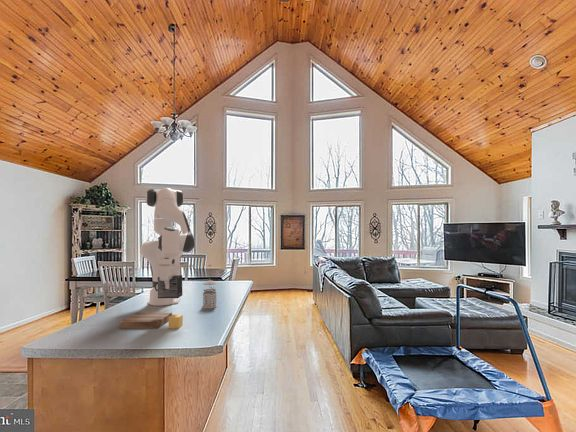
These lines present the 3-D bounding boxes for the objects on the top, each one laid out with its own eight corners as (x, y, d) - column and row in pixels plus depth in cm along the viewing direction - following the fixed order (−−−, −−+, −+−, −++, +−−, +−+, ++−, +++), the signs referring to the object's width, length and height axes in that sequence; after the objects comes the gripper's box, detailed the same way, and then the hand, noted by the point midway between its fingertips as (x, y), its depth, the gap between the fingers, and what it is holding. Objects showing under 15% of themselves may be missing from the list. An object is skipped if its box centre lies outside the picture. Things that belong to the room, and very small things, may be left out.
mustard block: (172, 325, 168) (172, 314, 168) (182, 325, 168) (182, 314, 168) (168, 328, 163) (168, 317, 163) (179, 328, 163) (179, 317, 163)
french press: (214, 304, 216) (214, 263, 217) (222, 307, 206) (222, 264, 207) (198, 306, 210) (198, 264, 211) (206, 309, 201) (206, 265, 202)
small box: (183, 295, 178) (182, 274, 178) (178, 298, 172) (178, 277, 172) (162, 295, 179) (162, 274, 179) (157, 298, 172) (157, 277, 172)
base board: (137, 318, 181) (137, 312, 181) (172, 318, 180) (172, 312, 181) (119, 328, 163) (120, 321, 163) (158, 328, 162) (158, 321, 163)
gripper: (171, 257, 186) (171, 284, 186) (156, 261, 166) (156, 291, 165) (183, 257, 186) (183, 284, 185) (170, 261, 165) (169, 291, 165)
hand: (170, 287), depth 175 cm, fingers closed on small box, 6 cm apart
